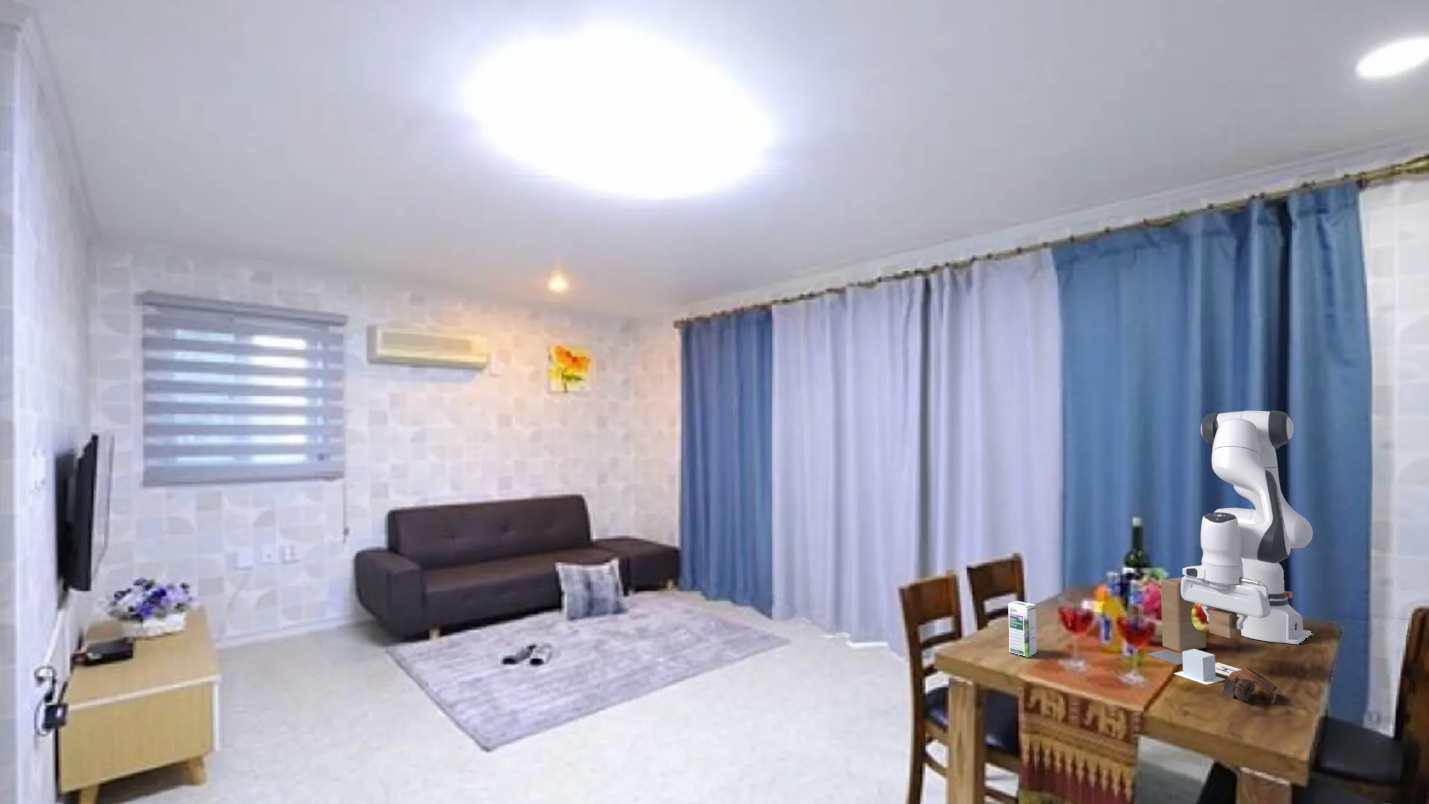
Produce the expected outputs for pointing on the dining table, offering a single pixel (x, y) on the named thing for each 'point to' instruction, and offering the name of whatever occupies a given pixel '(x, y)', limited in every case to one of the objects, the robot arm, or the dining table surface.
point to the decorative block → (1178, 619)
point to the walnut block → (1223, 623)
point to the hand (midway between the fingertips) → (1224, 625)
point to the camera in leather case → (1246, 684)
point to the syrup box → (1022, 628)
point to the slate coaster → (1168, 656)
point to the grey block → (1199, 664)
